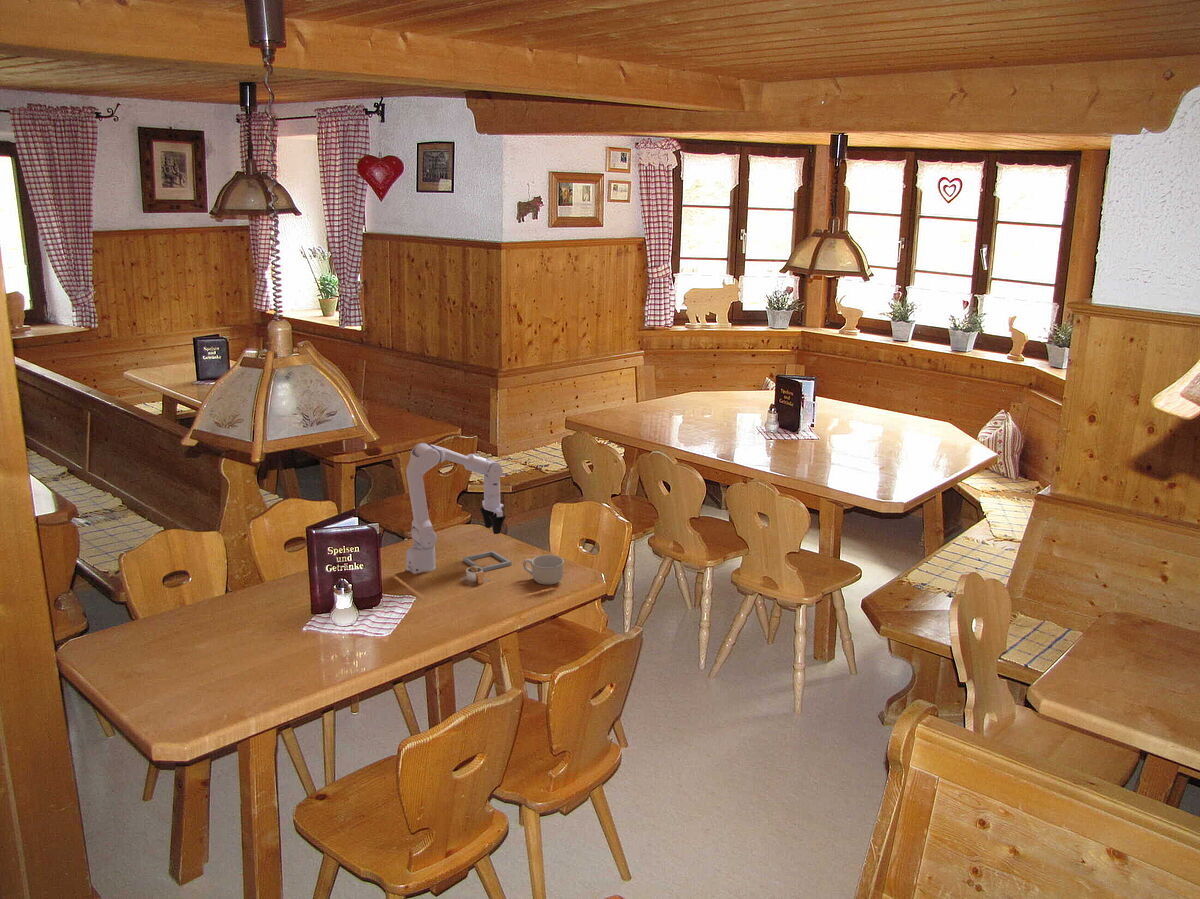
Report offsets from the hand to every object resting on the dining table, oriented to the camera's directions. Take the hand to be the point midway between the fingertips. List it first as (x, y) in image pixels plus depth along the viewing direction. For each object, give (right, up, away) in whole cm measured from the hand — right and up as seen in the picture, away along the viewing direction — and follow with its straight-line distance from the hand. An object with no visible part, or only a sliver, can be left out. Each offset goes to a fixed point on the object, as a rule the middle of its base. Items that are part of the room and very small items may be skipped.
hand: (492, 530), depth 351 cm
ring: (-4, -15, -20) cm, 25 cm away
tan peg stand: (-4, -16, -20) cm, 26 cm away
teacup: (+19, -16, -20) cm, 32 cm away
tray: (-1, -12, -5) cm, 13 cm away
